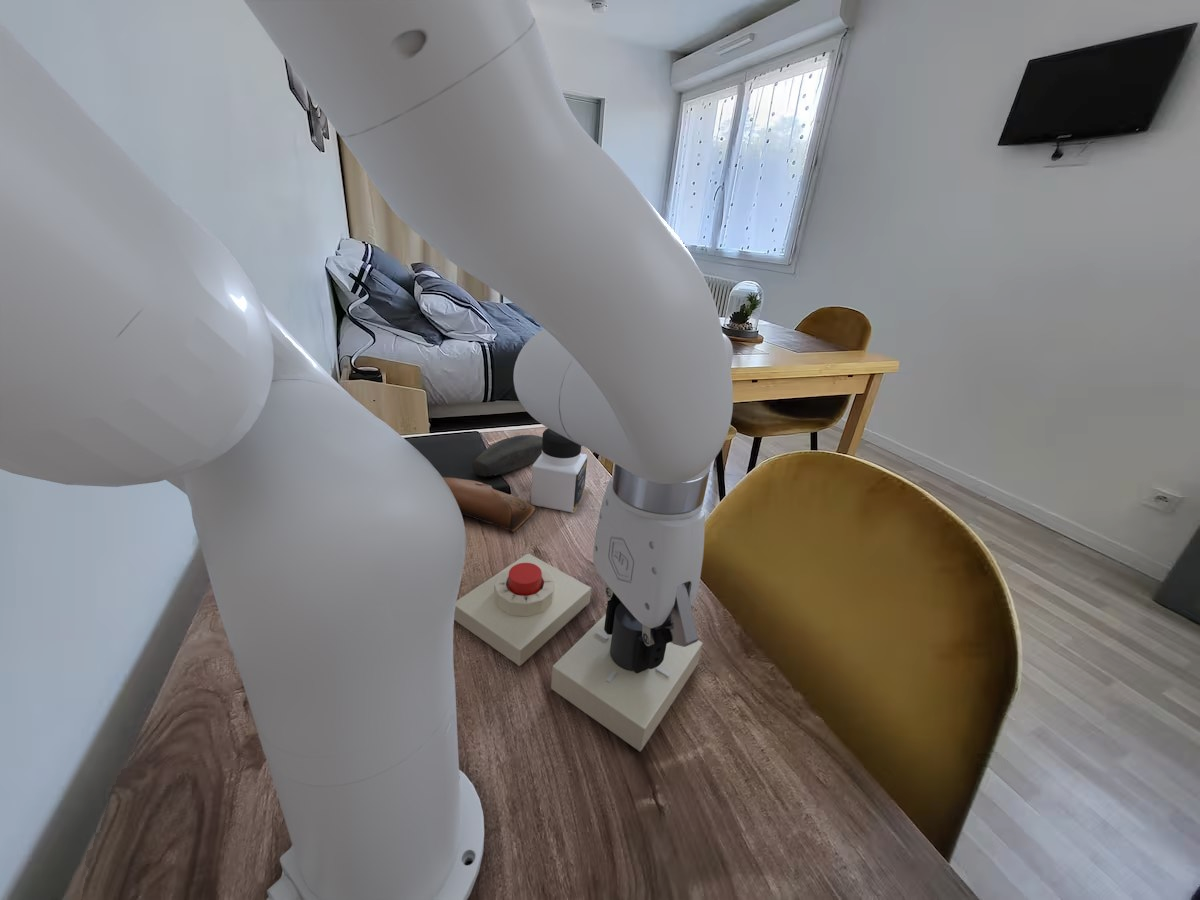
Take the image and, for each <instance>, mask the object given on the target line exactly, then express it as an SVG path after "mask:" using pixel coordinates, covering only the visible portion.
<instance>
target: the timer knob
mask: <svg viewBox="0 0 1200 900" xmlns="http://www.w3.org/2000/svg"><path fill="white" fill-rule="evenodd" d="M640 635H642V623H640V622H639V621H638V620H637V619H636V618H635V617H634V616H633V615H632V613H631V612H630V611H629V610H628V609H627V608H626V606H625V605H624V604H623V603H622V602H621V603H619V604H618V606H617V607H616V610H615V617H614V624H613V631H612V639H611V646H610V655H611V658H612V660H613V661H614V662H615V663H616V664H617V665H618V666H619V667H621V668H623V669H625V670H629V671H634V670H633V669H632V663H633V657H634V651H635V645H636V639H637V637H638V636H640Z"/></svg>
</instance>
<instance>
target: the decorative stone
mask: <svg viewBox="0 0 1200 900" xmlns="http://www.w3.org/2000/svg"><path fill="white" fill-rule="evenodd" d="M541 454H542V436H540V435H535V434H521V435H520V434H519V435H515V436H510V437H507V438H503V439H501V440H499V441H497V442H495V443H493V444H491V445H490V446H488V447H487V448H486V449H485V450H483V451H482V452H481V453H480V454H479V455H478V456H477V457H476V458H475V459H474V461H473V462H472V469H473V472H474V473H475V474H476V476H480V477H483V478H484V477H485V478H486V477H487V476H489V477H487V478H490V477H492V476H491V475H494V476H493V477H496V476H500V475H503V474H507V473H510V472H513V471H516V470H518V469H521V468H523V467H526V466H529V465H530V464H532V463H535V461H536V460H537V459H538V457H539V456H540V455H541ZM478 474H479V475H478ZM495 474H497V475H495ZM482 475H483V476H482Z"/></svg>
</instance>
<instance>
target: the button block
mask: <svg viewBox="0 0 1200 900" xmlns="http://www.w3.org/2000/svg"><path fill="white" fill-rule="evenodd" d="M520 563H532V564H535V565H537V566H538V567H539V568H540V569H541V571H542V581H541V588H540V590H539V591H538V592H537V593H536V594H533V595H529V596H521V595H515V594H514V593H512V592H511V591H510V589H509V586H508V584H509V571H510V569H511V568H512V567H513V566H515V565H517V564H520ZM591 595H592V587H590V586H589V585H587V584H585V583H583V582H582V581H579V580H578V579H576V578H574V577H572V576H571V575H568V574H567V573H565V572H564V571H562V570H560V569H558V568H556V567H554V566H552V565H551V564H549V563H547V562H545V561H544V560H541V559H539V558H538V557H536V556H535V555H532V554H531V553H529V552H528V553H526V554H524V555H523V556H521V557H520V558H518V559H517V560H516V561H514V562H512V563H511V564H509V565H508V566H506V567H505V568H503V569H502V570H500V571H499V572H497V573H495V574H494V575H493V576H491V577H490V578H489V579H487V580H485V581H484V582H482V583H481V584H479V585H478V586H476V587H475V588H474V589H472V590H470V591H469V592H467V593H466V594H465V595H463V596H461V597H460V598H457V600H456V607H455V614H454V622H457V623H458V624H459V625H461V626H462V627H463V628H464V629H466V630H468V631H469V632H471V633H472V634H473V635H475V636H476V637H478V638H479V639H480V640H482V641H483V642H485V643H486V644H488V645H489V646H490V647H492V648H493V649H494V650H496V651H497V652H499V653H500V654H502V655H503V656H504V657H506V658H507V659H508V660H510V661H512V662H513V663H514V664H515V665H517V666H518V667H521V666H522V665H523V664H524V663H525V662H526V661H527V660H528V659H530V658H531V657H532V656H533V655H535V653H536V652H537V651H538V650H539V649H541V648H542V647H543V646H544V645H545V644H546V643H547V642H549V640H550V639H552V638H553V637H554V636H555V635H556V634H557V633H558V632H559V631H560V630H561V629H562V628H564V627H565V626H566V625H567V624H568V623H569V622H570V621H571V620H572V619H574V618H575V617H576V616H577V615H578V614H579V613H580V612H581V611H582V610H584V608H585V607H587V606H588V605H589V604H590V603H591Z"/></svg>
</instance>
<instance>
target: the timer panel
mask: <svg viewBox="0 0 1200 900" xmlns="http://www.w3.org/2000/svg"><path fill="white" fill-rule="evenodd" d="M605 618H606V613H605V614H604V615H603V616H602V617H601V618H600V619H598V621H596V623H595V624H594V625H592V627H591V628H590V629H588V630H587V632H586V633H584V634H583V636H582V637H580V638H579V639H578V640H577V641H576V642H575V644H574V645H572V646H571V647H570V648H569V649H568V650H567V651H566V652H565V653H564V654H563V655H562V656H561V657H560V658H559V659H558V660H557V661H556V662H555V663H554V664H553V665H552V667H551V668H552V669H551V681H550V682H551V683H550V684H551V685H550V689H551V690H552V691H554V692H555V693H556V694H558V695H559V696H561V697H562V698H563V699H565V700H567V701H568V702H569V703H570V704H572V705H573V706H575V708H578V709H579V710H580V711H582V712H583V713H584V714H586V715H587V716H589V717H591V719H593V720H594V721H596V722H597V723H599V724H600V725H601V726H603V727H605V728H606V729H607V730H609V732H611V733H612V734H614V735H616V736H617V737H618V738H620V739H621V740H622V741H624V742H625V743H627V744H628V745H630V746H631V747H632V748H634V749H635V750H637V751H638V752H642V751H643V749H644V747H646V744H647V743H648V741H649V740H650V738H651V736H652V735H653V734H654V732H655V731H656V729H657V727H658V726H659V724H660V723H661V722H662V720H663V719H664V717H665V715H666V714H667V712H668V711H669V709H670V708H671V706H672V705H673V703H674V701H675V700H676V698H677V697H678V695H679V694H680V692H681V691H682V689H683V688H684V686H685V685H686V683H687V682H688V680H689V678H690V677H691V675H692V674H693V673H694V671H695V670H696V668H697V667H698V665H699V662H700V658H701V653H702V650H703V645H704V642H703V641H702V640H701V641H700V640H699V639H698V641H697V642H695V643H693V644H691V645H688V646H686V647H682V646H679V645H675V644H673V643H671V642H669V643H667V645H666V650H665V655H664V660H663V662H662V663H661V664H660V665H659V666H658V667H656V668H653V669H647V670H644V671H642V672H640V673H635V672H634V671H629V670H625V669H623V668H621V667H619V666H618V665H617V664H616V663H615V662H614V661H613V660H612V658H611V655H610V646H611V639H612V634H611V635H609V634H607V633H606V632H605V630H604V626H605Z"/></svg>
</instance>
